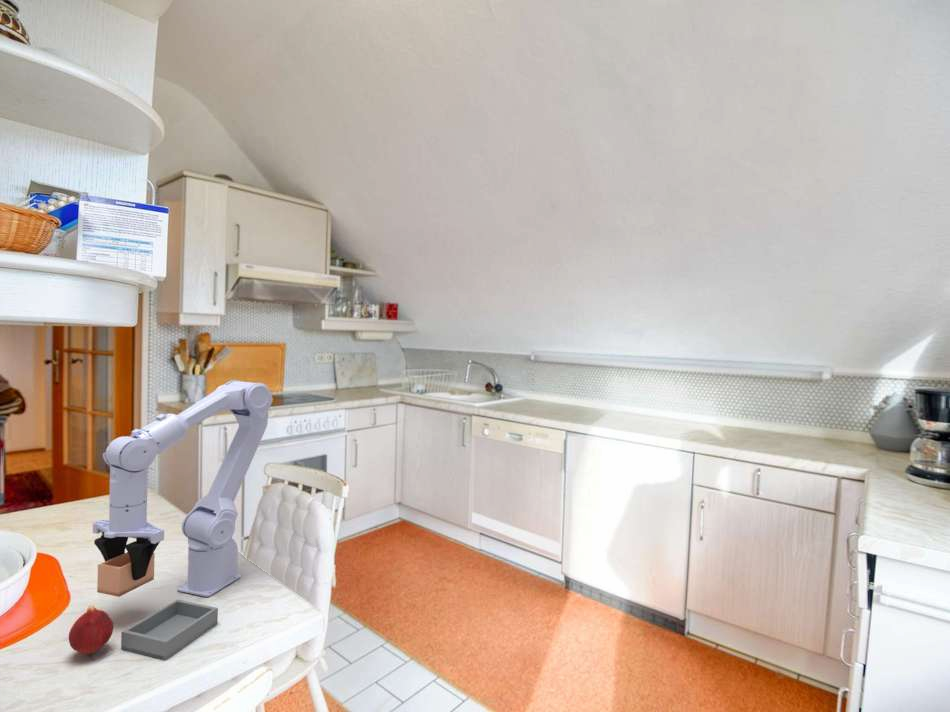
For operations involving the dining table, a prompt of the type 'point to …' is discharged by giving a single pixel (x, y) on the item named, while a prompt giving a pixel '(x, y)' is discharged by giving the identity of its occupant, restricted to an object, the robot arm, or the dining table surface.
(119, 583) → the small crate
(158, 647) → the big crate
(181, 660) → the dining table surface
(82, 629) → the onion
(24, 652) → the dining table surface
